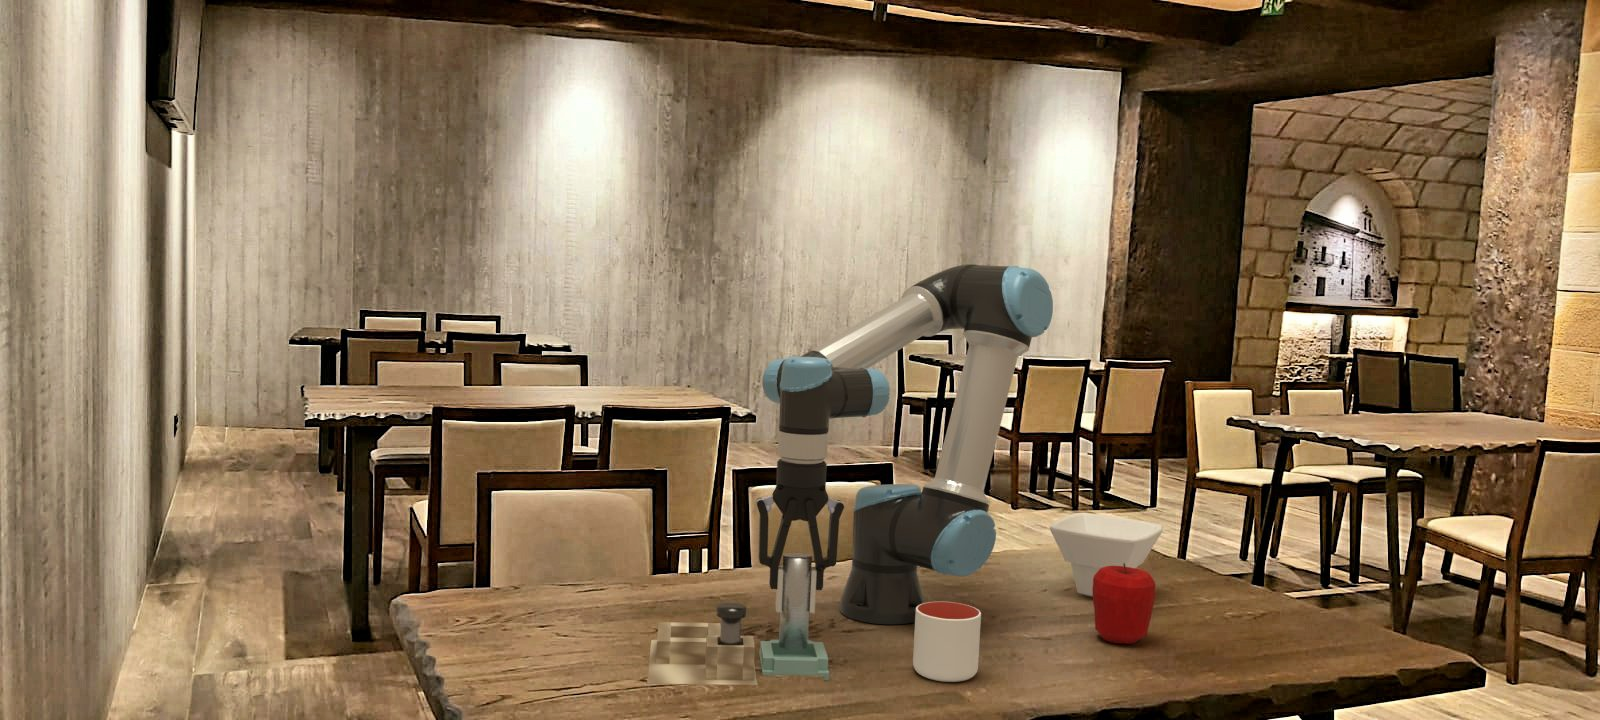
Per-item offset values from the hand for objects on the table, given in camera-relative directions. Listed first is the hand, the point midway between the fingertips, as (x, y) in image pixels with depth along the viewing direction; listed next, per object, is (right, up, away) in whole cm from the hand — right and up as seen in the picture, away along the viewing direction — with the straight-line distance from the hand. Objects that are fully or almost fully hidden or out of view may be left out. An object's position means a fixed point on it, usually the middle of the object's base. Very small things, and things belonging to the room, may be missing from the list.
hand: (794, 609), depth 196 cm
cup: (+23, -10, +2) cm, 25 cm away
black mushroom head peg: (-10, -8, -5) cm, 13 cm away
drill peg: (0, -6, 0) cm, 6 cm away
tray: (0, -9, +1) cm, 9 cm away
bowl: (+59, -8, +51) cm, 78 cm away
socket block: (-15, -9, +1) cm, 17 cm away
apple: (+55, -10, +23) cm, 61 cm away
